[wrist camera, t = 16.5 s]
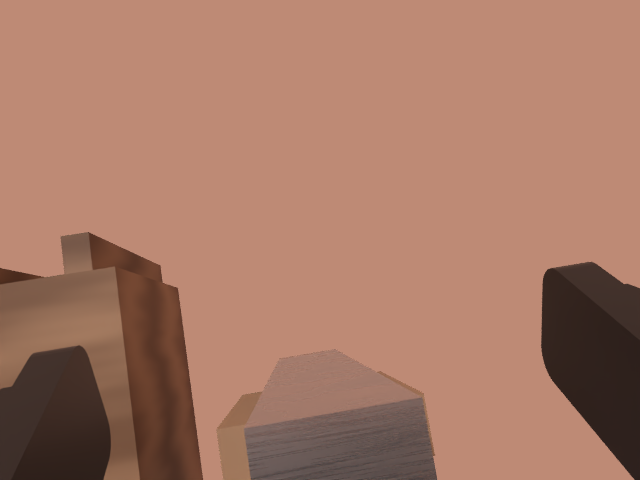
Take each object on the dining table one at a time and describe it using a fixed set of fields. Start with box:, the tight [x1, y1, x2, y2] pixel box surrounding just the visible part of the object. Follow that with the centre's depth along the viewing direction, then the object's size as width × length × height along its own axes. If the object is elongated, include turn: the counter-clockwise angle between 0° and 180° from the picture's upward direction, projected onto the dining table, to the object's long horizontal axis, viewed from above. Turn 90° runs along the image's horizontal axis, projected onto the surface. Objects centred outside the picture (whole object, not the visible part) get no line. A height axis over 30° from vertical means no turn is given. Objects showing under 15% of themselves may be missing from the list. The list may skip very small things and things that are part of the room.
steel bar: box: [244, 349, 437, 480], centre depth 22 cm, size 24×3×3 cm, turn 4°
